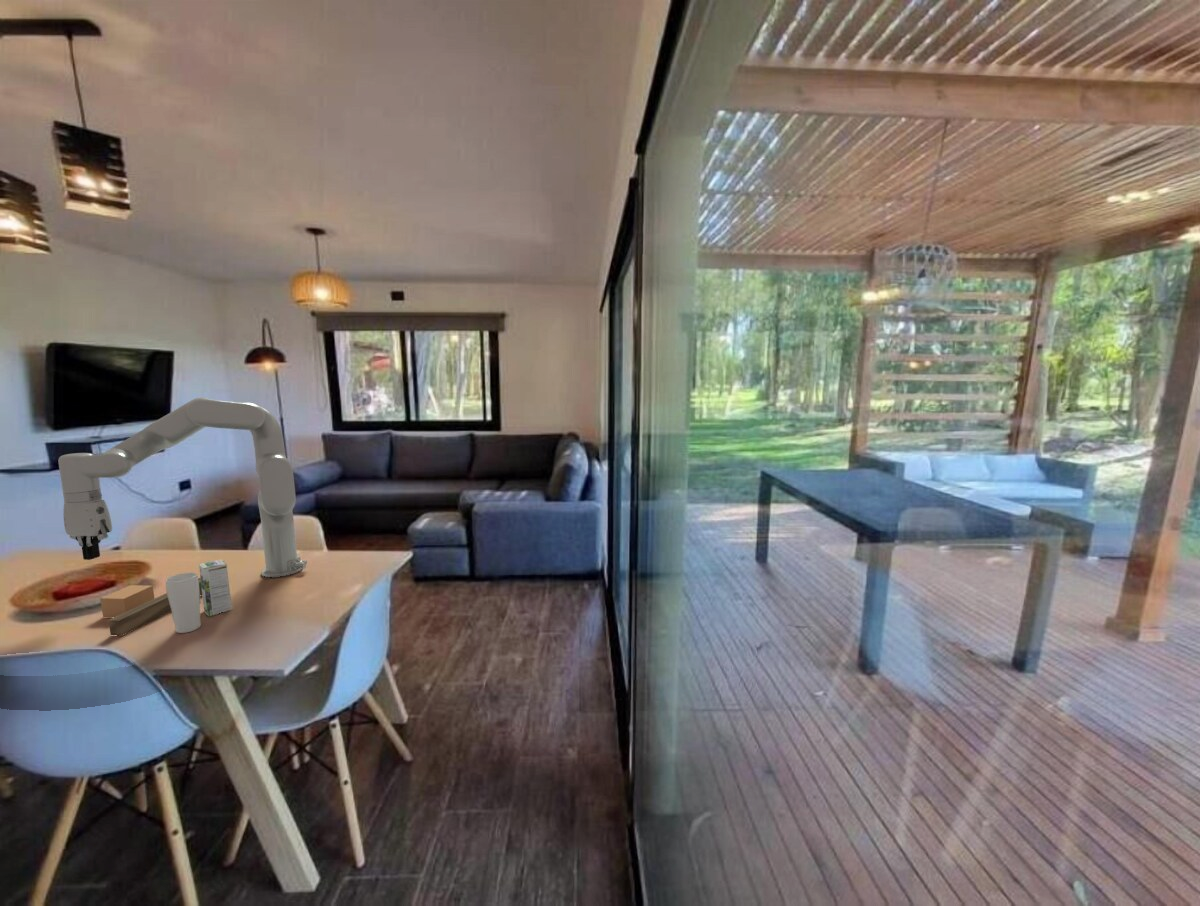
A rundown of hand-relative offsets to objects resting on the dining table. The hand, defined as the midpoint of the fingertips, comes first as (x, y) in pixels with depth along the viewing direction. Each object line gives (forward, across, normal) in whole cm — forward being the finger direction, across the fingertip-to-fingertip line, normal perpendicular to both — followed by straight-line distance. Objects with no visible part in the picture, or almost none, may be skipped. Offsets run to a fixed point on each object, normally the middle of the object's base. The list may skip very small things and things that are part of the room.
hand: (92, 558), depth 147 cm
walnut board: (+16, -20, 0) cm, 26 cm away
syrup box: (+16, -35, -2) cm, 39 cm away
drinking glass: (+16, -36, +9) cm, 41 cm away
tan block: (+16, -9, 0) cm, 19 cm away
